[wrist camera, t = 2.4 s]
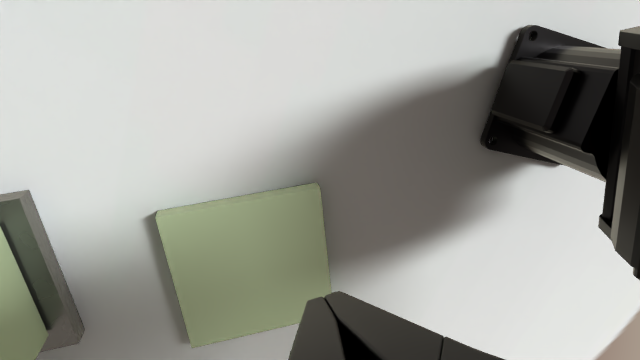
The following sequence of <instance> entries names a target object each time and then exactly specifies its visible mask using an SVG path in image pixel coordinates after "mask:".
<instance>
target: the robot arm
mask: <svg viewBox="0 0 640 360" xmlns="http://www.w3.org/2000/svg"><path fill="white" fill-rule="evenodd" d="M530 32H532V38H531V39H530V40H529V34H530ZM618 45H619V46H621V49H608V48H605V47H601V46H598V45H595V44H592V43H589V42H586V41H583V40H580V39H577V38H574V37H571V36H568V35H565V34H562V33H559V32H556V31H552V30H549V29H546V28H543V27H540V26H537V25H528V26H525V27H524V28H523V29H522V30H521V32H520V34H519V37H518V40H517V42H516V45H515V48H514V50H513V53H512V56H511V58H510V61H509V64H508V65H507V68H506V70H505V73H504V76H503V79H502V81H501V84H500V87H499V89H498V92H497V95H496V97H495V100H494V103H493V105H492V108H491V112H490V115H489V117H488V120H487V123H486V126H485V128H484V131H483V134H482V136H481V144H482V146H483V147H485V148H488V149H490V150H494V151H499V152H504V153H509V154H513V155H518V156H523V157H528V158H532V159H537V160H542V161H547V162H551V163H556V164H561V165H566V166H568V167H570V168H573V169H575V170H578V171H580V172H582V173H585V174H587V175H590V176H592V177H594V178H597V179H599V180H602V181H604V182H606V186H605V195H604V204H603V213H602V214H601V215H600V216H599V225H598V226H599V228H600V229H601V230H602V231H603V232H604V233H605V234H606V235H607V236H608V238H609V239H610V240H611V241H612V243H613V245H614V248H615V251H616V252H617V253H618V254H619V255H620V256H621V257H622V258H623V259H624V260H626V261H627V262H628V263H629V264H630V265H631V266H632V267H634V268H633V275H634V276H635V277H636V278H638V279H639V280H640V26H638V27H634V28H629V29H625V30H620V34H619V43H618ZM492 136H493V140H492V142H490V143H489V139H490V138H491V137H492ZM288 360H505V359H502V358H499V357H496V356H493V355H490V354H488V353H485V352H482V351H480V350H477V349H475V348H472V347H470V346H467V345H465V344H462V343H460V342H457V341H455V340H453V339H450V338H448V337H443V336H442V335H440V334H438V333H435V332H433V331H431V330H428V329H426V328H424V327H421V326H419V325H417V324H415V323H412V322H410V321H408V320H405V319H403V318H401V317H398V316H396V315H394V314H392V313H389V312H387V311H385V310H382V309H380V308H378V307H375V306H373V305H371V304H369V303H366V302H364V301H362V300H359V299H357V298H355V297H352V296H350V295H348V294H346V293H343V292H340V291H337V292H334V293H331V294H327V295H325V297H324V298H323V297H317V298H314V299H311V300H308V301H307V303H306V306H305V309H304V312H303V315H302V318H301V321H300V324H299V328H298V331H297V334H296V337H295V340H294V343H293V347H292V350H291V353H290V356H289V359H288Z"/></svg>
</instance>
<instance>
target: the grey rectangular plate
mask: <svg viewBox="0 0 640 360" xmlns="http://www.w3.org/2000/svg"><path fill="white" fill-rule="evenodd" d="M0 227H1V229H2V231H3V233H4V236H5V238H6V240H7V242H8V245H9V247H10V249H11V251H12V254H13V256H14V258H15V260H16V263H17V265H18V267H19V269H20V272H21V274H22V276H23V278H24V281H25V283H26V285H27V287H28V290H29V292H30V294H31V296H32V299H33V301H34V303H35V305H36V308H37V310H38V312H39V314H40V317H41V319H42V321H43V323H44V326H45V328H46V330H47V332H48V335H49V336H48V337H47V339H46V341H45V343H44V345H43V347H42V348H41V350H40V352H42V351H47V350H51V349H56V348H60V347H65V346H69V345H74V344H78V343H79V342H80V339H81V337H82V335H83V333H84V330H85V329H84V326H83V324H82V321H81V319H80V316H79V314H78V311H77V309H76V306H75V304H74V301H73V299H72V296H71V294H70V291H69V289H68V286H67V284H66V281H65V279H64V276H63V274H62V271H61V269H60V266H59V264H58V261H57V259H56V256H55V254H54V251H53V249H52V246H51V244H50V241H49V239H48V236H47V234H46V231H45V229H44V226H43V224H42V221H41V219H40V216H39V214H38V211H37V209H36V206H35V204H34V201H33V199H32V196H31V194H30V191H29V190H26V191H19V192H13V193H7V194H1V195H0Z"/></svg>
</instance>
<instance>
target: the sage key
mask: <svg viewBox="0 0 640 360" xmlns="http://www.w3.org/2000/svg"><path fill="white" fill-rule="evenodd" d="M48 336H49V335H48V332H47V330H46V328H45V326H44V323H43V321H42V319H41V317H40V314H39V312H38V310H37V308H36V305H35V303H34V301H33V299H32V296H31V294H30V292H29V290H28V287H27V285H26V283H25V281H24V278H23V276H22V274H21V272H20V269H19V267H18V265H17V263H16V260H15V258H14V256H13V254H12V251H11V249H10V247H9V245H8V242H7V240H6V238H5V236H4V233H3V231H2V229H1V227H0V360H35V359H36V357H37V356H38V354H39V352H40V350H41V348H42V347H43V345H44V343H45V341H46V339H47V337H48Z"/></svg>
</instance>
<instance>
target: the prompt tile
mask: <svg viewBox="0 0 640 360" xmlns="http://www.w3.org/2000/svg"><path fill="white" fill-rule="evenodd" d="M155 219H156V223H157V226H158V230H159V233H160V237H161V240H162V244H163V247H164V251H165V255H166V258H167V262H168V265H169V269H170V272H171V276H172V279H173V283H174V287H175V290H176V294H177V297H178V301H179V304H180V308H181V312H182V315H183V319H184V322H185V326H186V329H187V333H188V336H189V340H190V344H191V347H192V348H195V347H200V346H204V345H208V344H212V343H217V342H221V341H225V340H229V339H234V338H238V337H242V336H246V335H251V334H255V333H259V332H263V331H268V330H272V329H276V328H281V327H285V326H289V325H293V324H298V323H300V321H301V318H302V315H303V312H304V309H305V306H306V303H307V301H308V300H311V299H314V298H317V297H323V298H324V297H325V295H327V294H331V284H330V275H329V265H328V256H327V247H326V238H325V228H324V219H323V210H322V201H321V191H320V187H319V185H318V184H317V183H311V184H305V185H300V186H294V187H289V188H283V189H277V190H272V191H266V192H260V193H255V194H249V195H244V196H238V197H232V198H227V199H221V200H216V201H210V202H204V203H199V204H193V205H187V206H182V207H176V208H171V209H165V210H159V211H157V214H156V217H155Z"/></svg>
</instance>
